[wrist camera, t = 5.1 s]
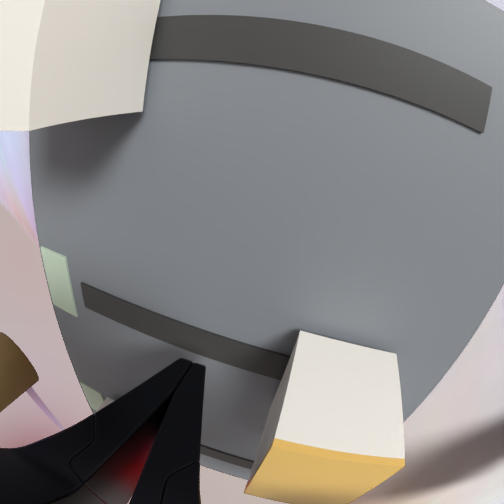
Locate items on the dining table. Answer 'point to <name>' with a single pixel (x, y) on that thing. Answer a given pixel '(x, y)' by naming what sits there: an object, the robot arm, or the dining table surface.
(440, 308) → the panel
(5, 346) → the cork
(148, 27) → the block
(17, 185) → the dining table surface
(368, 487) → the block
